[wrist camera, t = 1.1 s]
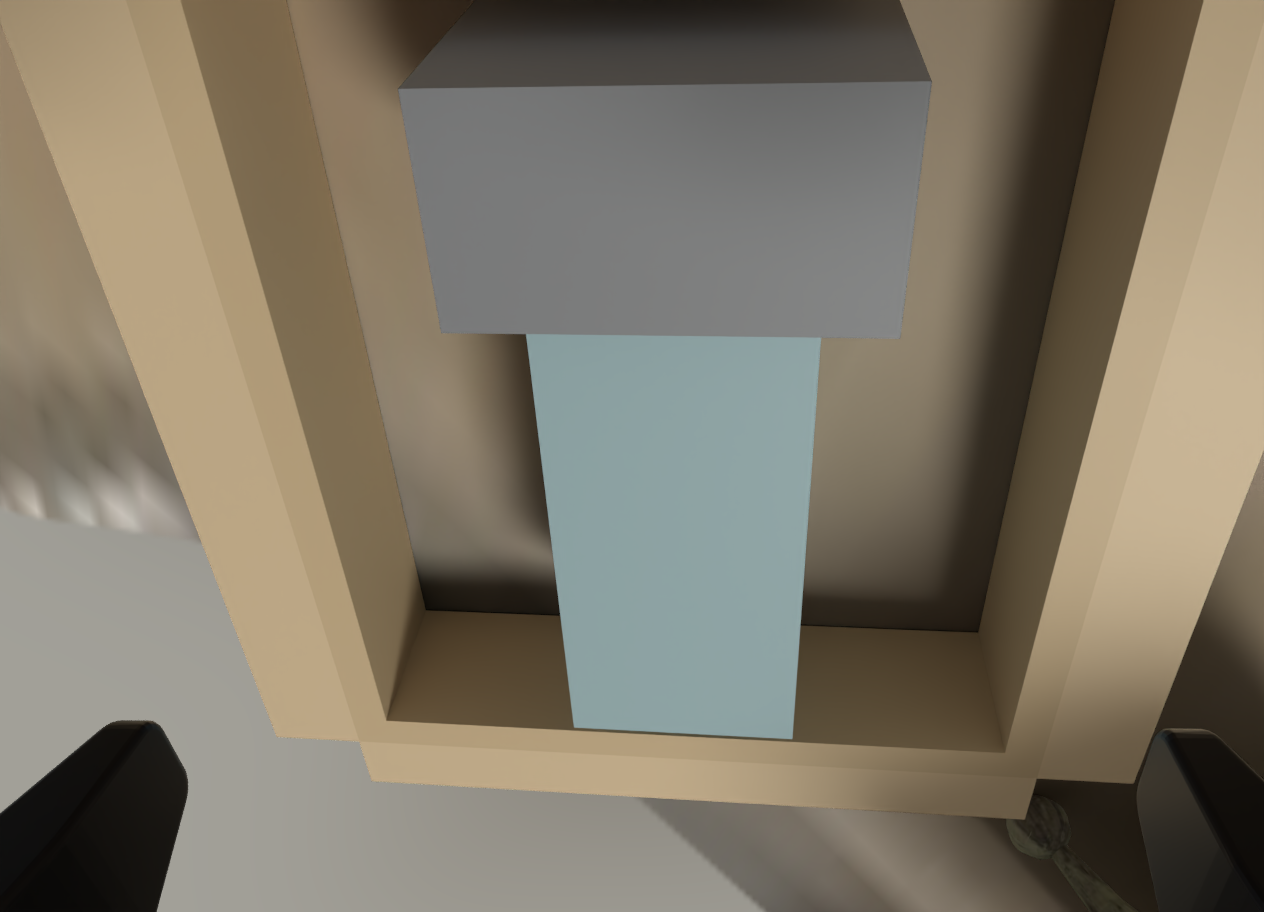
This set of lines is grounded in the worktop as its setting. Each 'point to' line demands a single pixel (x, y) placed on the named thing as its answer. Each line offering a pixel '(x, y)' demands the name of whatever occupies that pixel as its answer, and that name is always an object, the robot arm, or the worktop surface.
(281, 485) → the tan shallow rectangular tray
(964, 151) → the worktop surface
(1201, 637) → the worktop surface
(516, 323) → the box
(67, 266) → the worktop surface
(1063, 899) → the worktop surface
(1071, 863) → the tabletop clock
